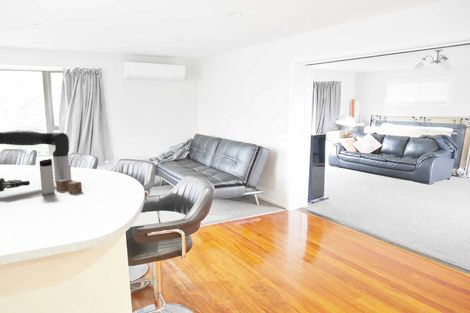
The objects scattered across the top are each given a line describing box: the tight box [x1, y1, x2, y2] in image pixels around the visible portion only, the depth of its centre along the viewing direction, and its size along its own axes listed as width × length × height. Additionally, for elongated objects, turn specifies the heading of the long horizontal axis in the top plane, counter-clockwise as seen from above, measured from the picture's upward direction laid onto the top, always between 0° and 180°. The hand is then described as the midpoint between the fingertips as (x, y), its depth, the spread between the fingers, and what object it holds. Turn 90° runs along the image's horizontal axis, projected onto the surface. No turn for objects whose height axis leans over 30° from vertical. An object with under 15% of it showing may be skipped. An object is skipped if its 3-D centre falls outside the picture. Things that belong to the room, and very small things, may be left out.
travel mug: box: [39, 158, 55, 196], centre depth 186 cm, size 6×7×20 cm
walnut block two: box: [55, 179, 70, 192], centre depth 196 cm, size 5×5×6 cm
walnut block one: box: [68, 181, 83, 195], centre depth 190 cm, size 5×5×6 cm
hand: (29, 183), depth 184 cm, fingers closed
